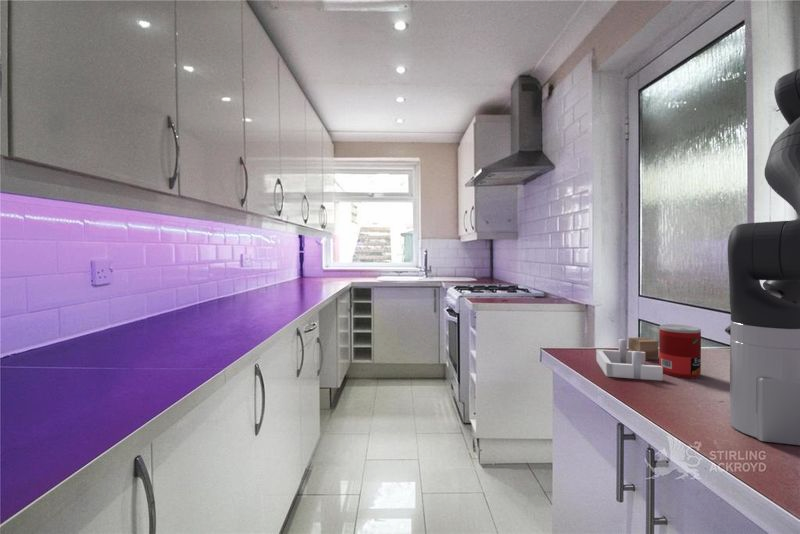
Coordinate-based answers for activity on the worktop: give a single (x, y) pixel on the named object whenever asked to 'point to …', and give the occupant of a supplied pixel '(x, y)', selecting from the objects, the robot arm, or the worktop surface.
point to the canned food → (680, 350)
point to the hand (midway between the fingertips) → (729, 334)
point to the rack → (627, 370)
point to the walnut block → (644, 346)
